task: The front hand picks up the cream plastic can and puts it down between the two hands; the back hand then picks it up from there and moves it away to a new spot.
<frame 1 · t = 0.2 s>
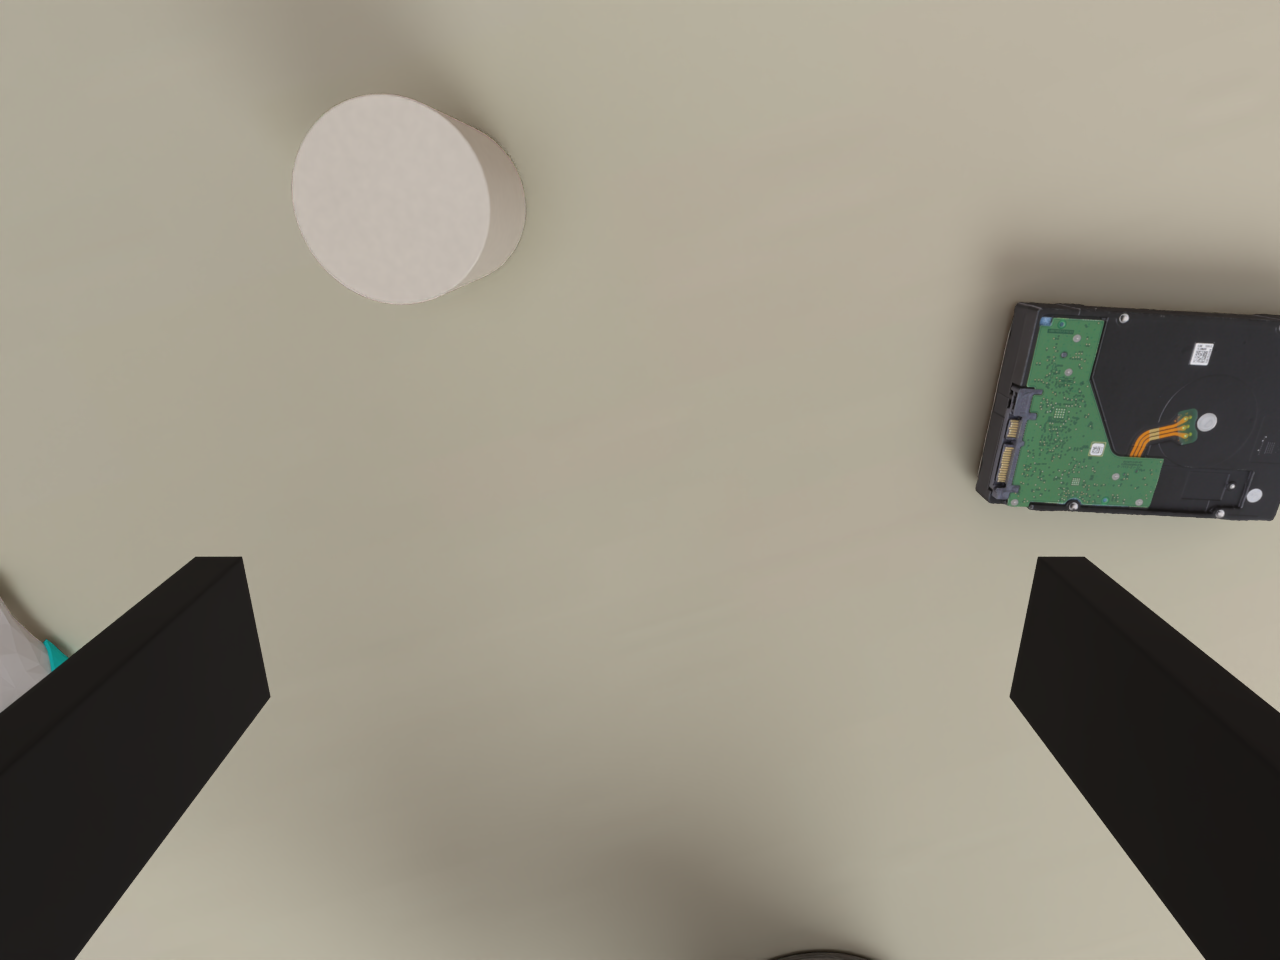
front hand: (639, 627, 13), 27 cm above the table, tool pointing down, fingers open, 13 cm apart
can: (450, 204, 36), on the table
disk drive: (1127, 405, 40), on the table
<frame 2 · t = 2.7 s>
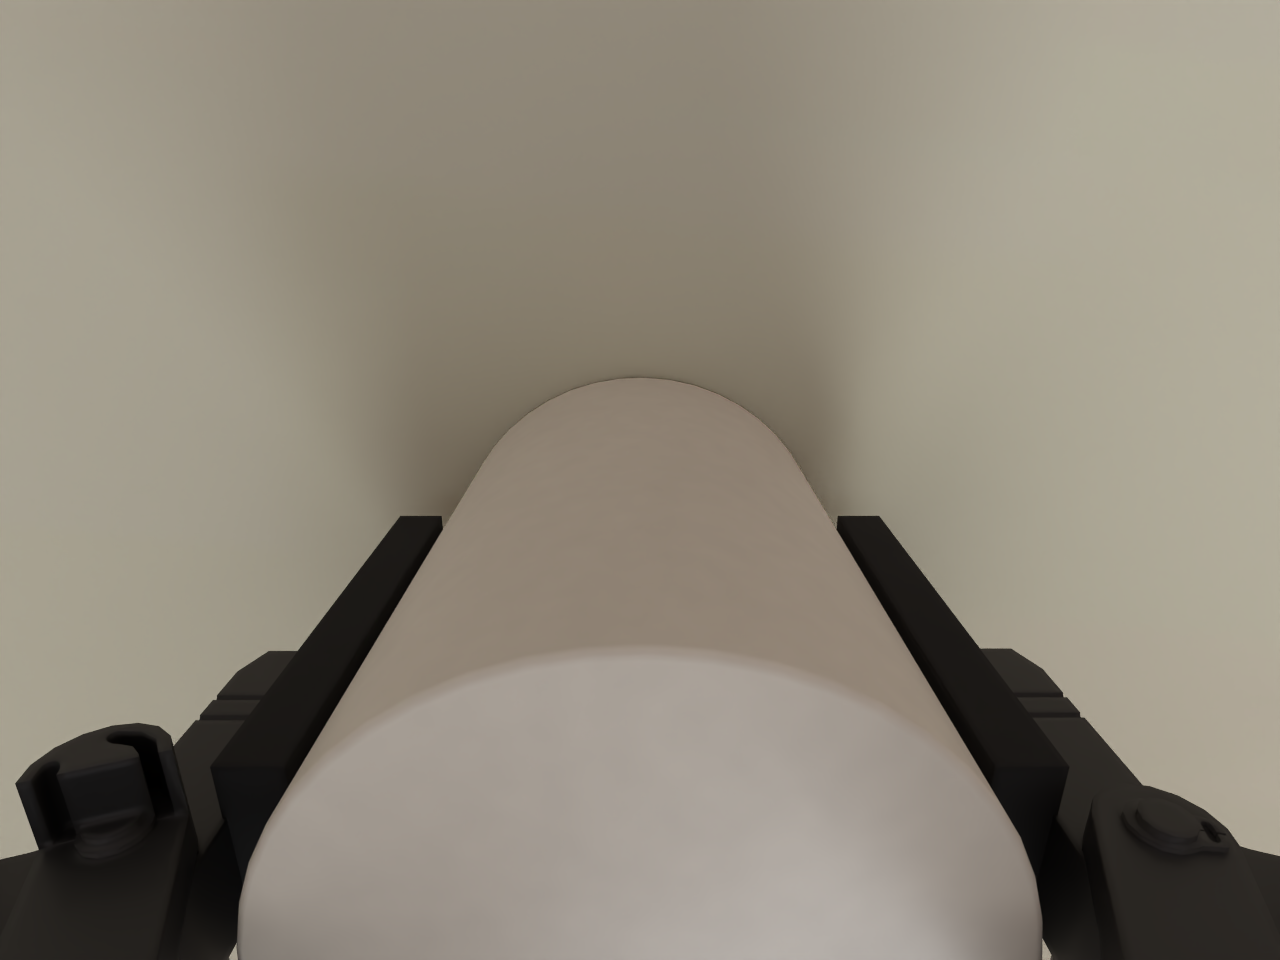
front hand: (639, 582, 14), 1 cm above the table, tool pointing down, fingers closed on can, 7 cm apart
can: (639, 550, 16), on the table, touching front hand
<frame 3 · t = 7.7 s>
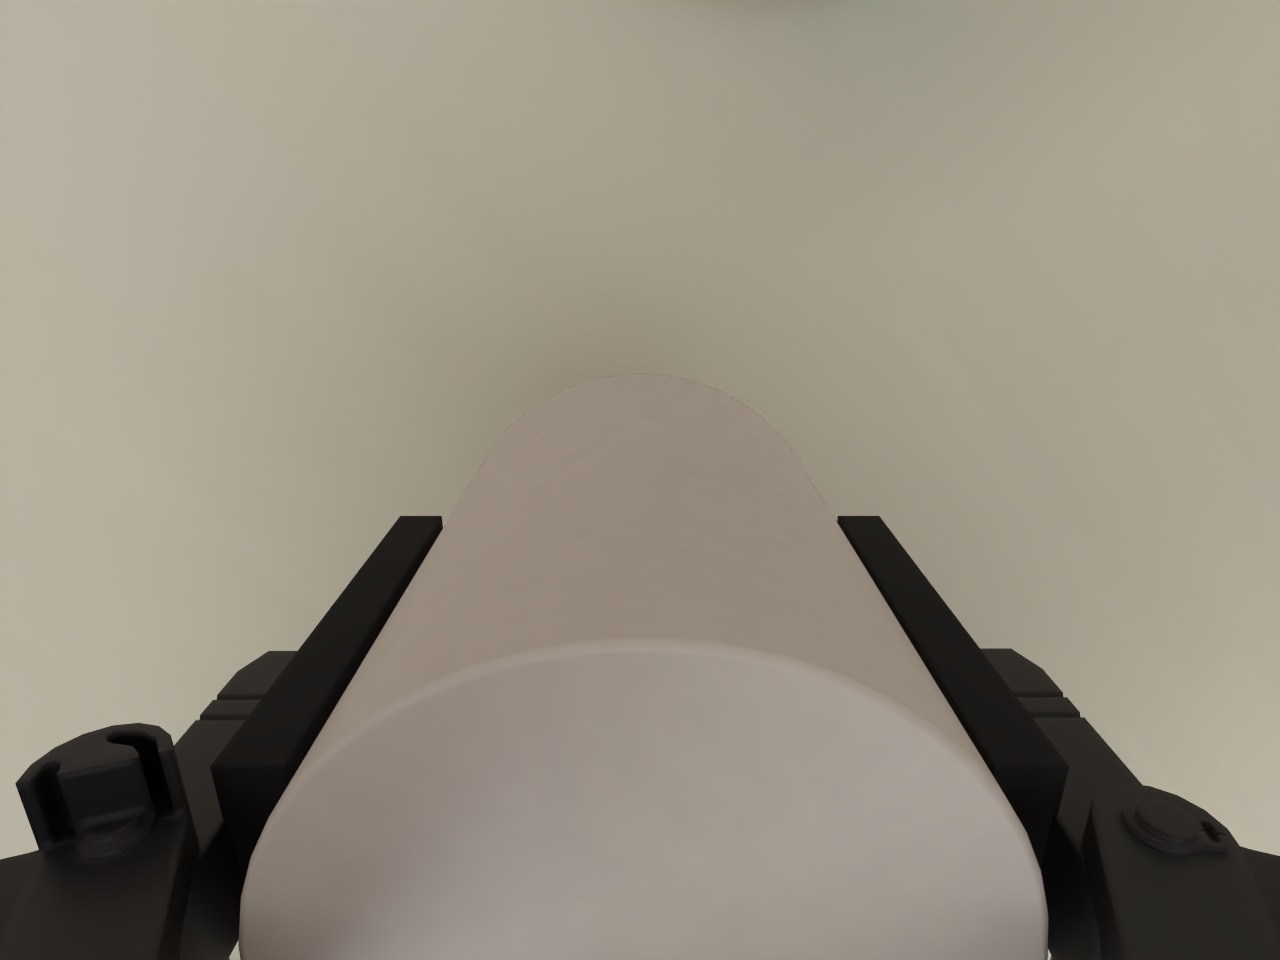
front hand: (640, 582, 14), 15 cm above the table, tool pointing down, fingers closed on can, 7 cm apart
can: (641, 547, 15), point 14 cm above the table, touching front hand
when the front hand's fingers open (3 cm above the table, at t = 12.6 s): can drops 2 cm, on the table.
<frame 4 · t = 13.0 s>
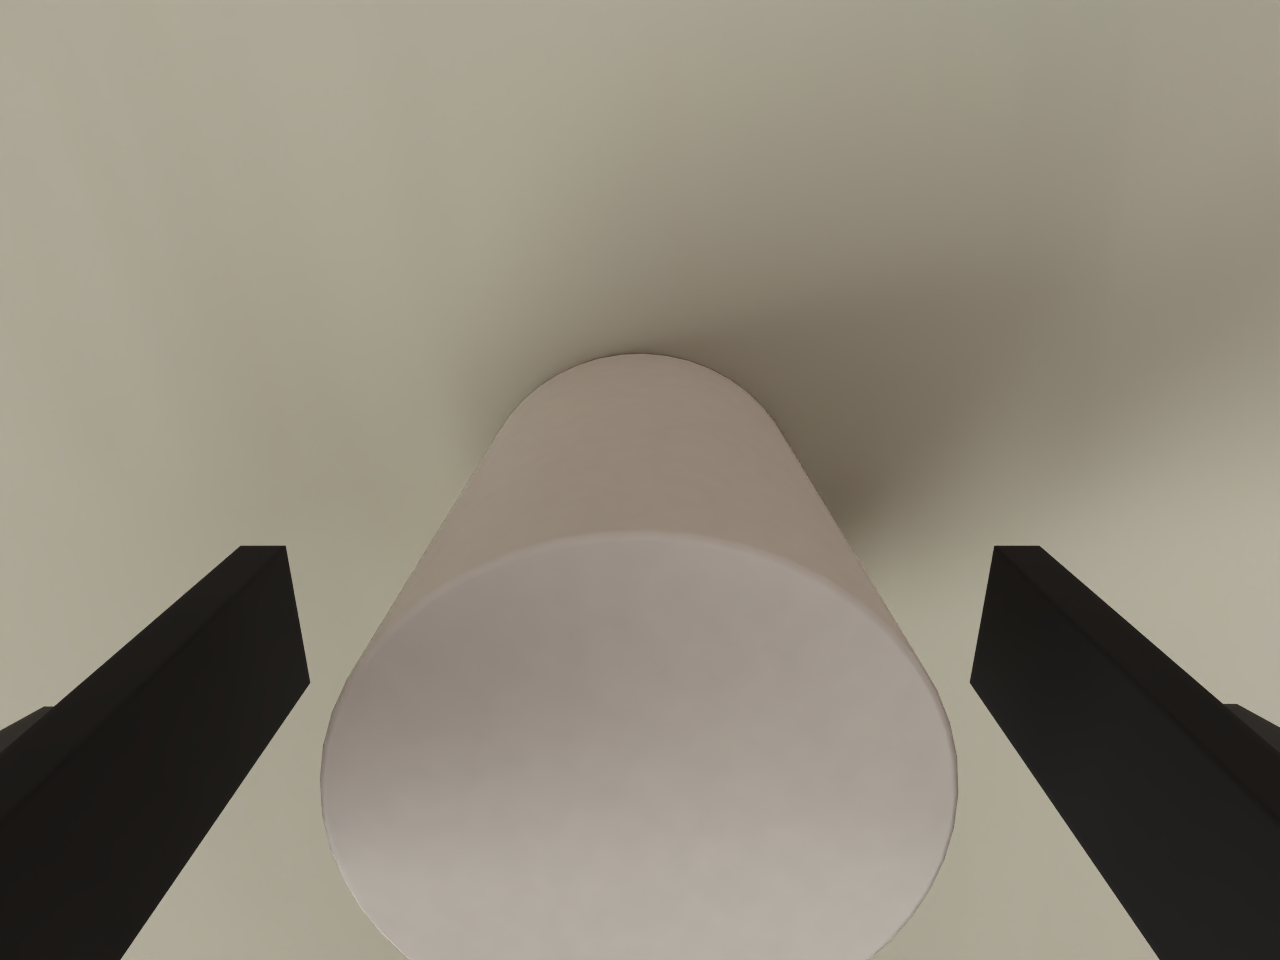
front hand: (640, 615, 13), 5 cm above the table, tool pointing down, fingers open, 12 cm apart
can: (639, 510, 17), on the table
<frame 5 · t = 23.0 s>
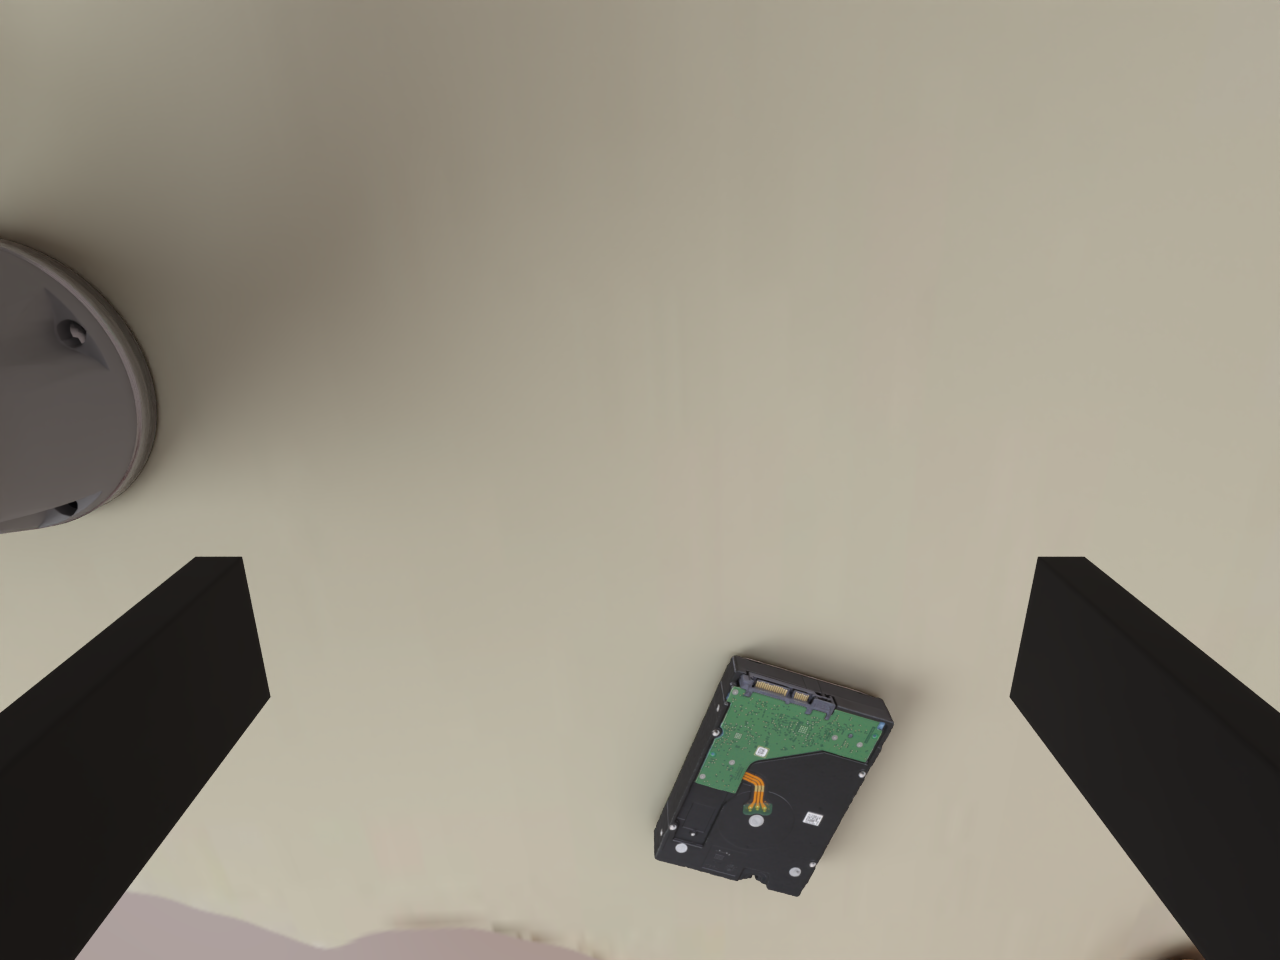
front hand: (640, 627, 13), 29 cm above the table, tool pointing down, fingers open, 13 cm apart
disk drive: (762, 762, 49), on the table
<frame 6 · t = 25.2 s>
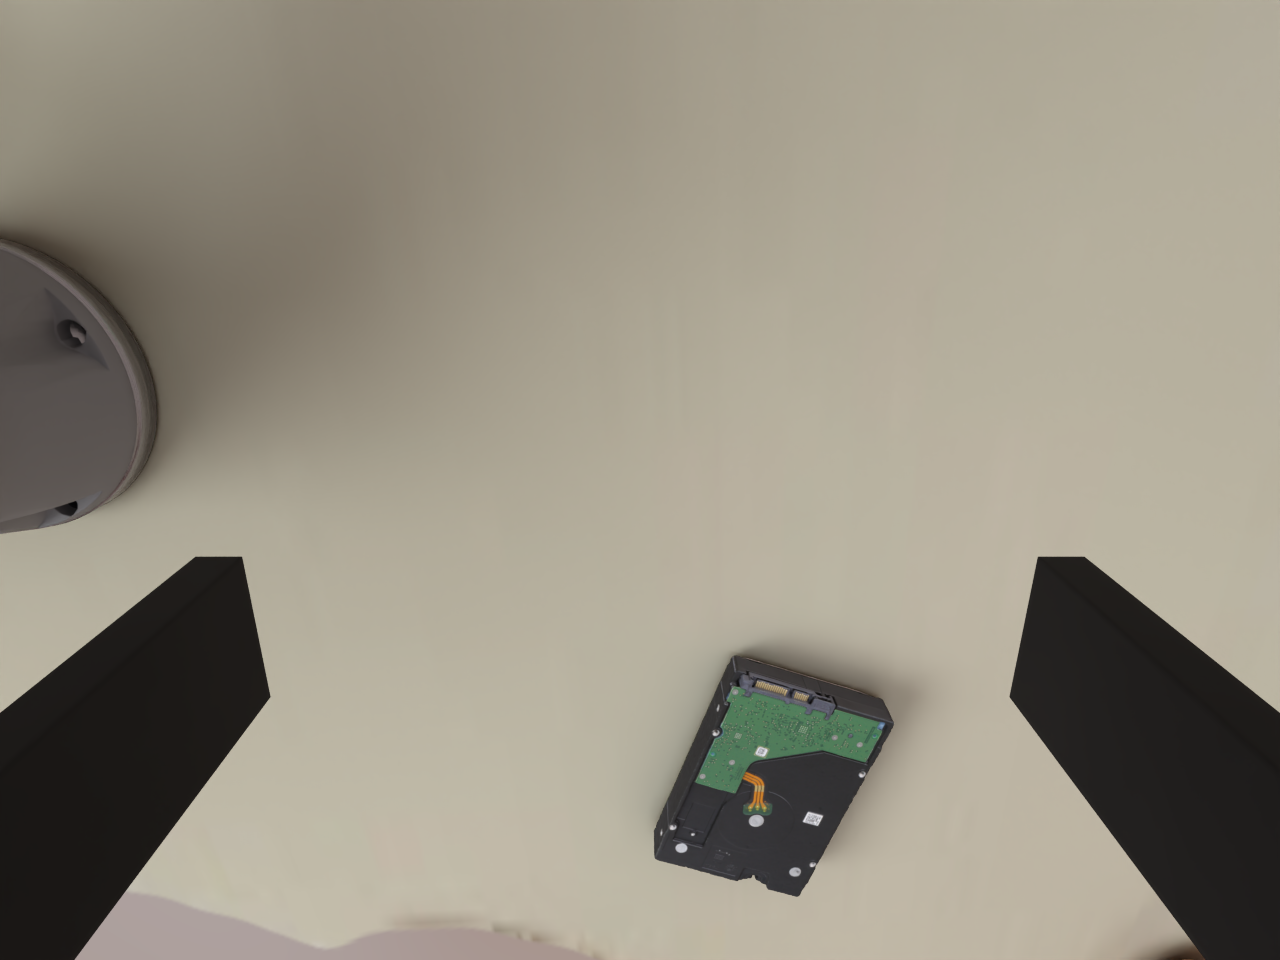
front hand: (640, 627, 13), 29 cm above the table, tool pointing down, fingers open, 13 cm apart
disk drive: (762, 762, 49), on the table
when the back hand's fingers open (3 cm above the table, at t = 27.7 s): can drops 2 cm, on the table.
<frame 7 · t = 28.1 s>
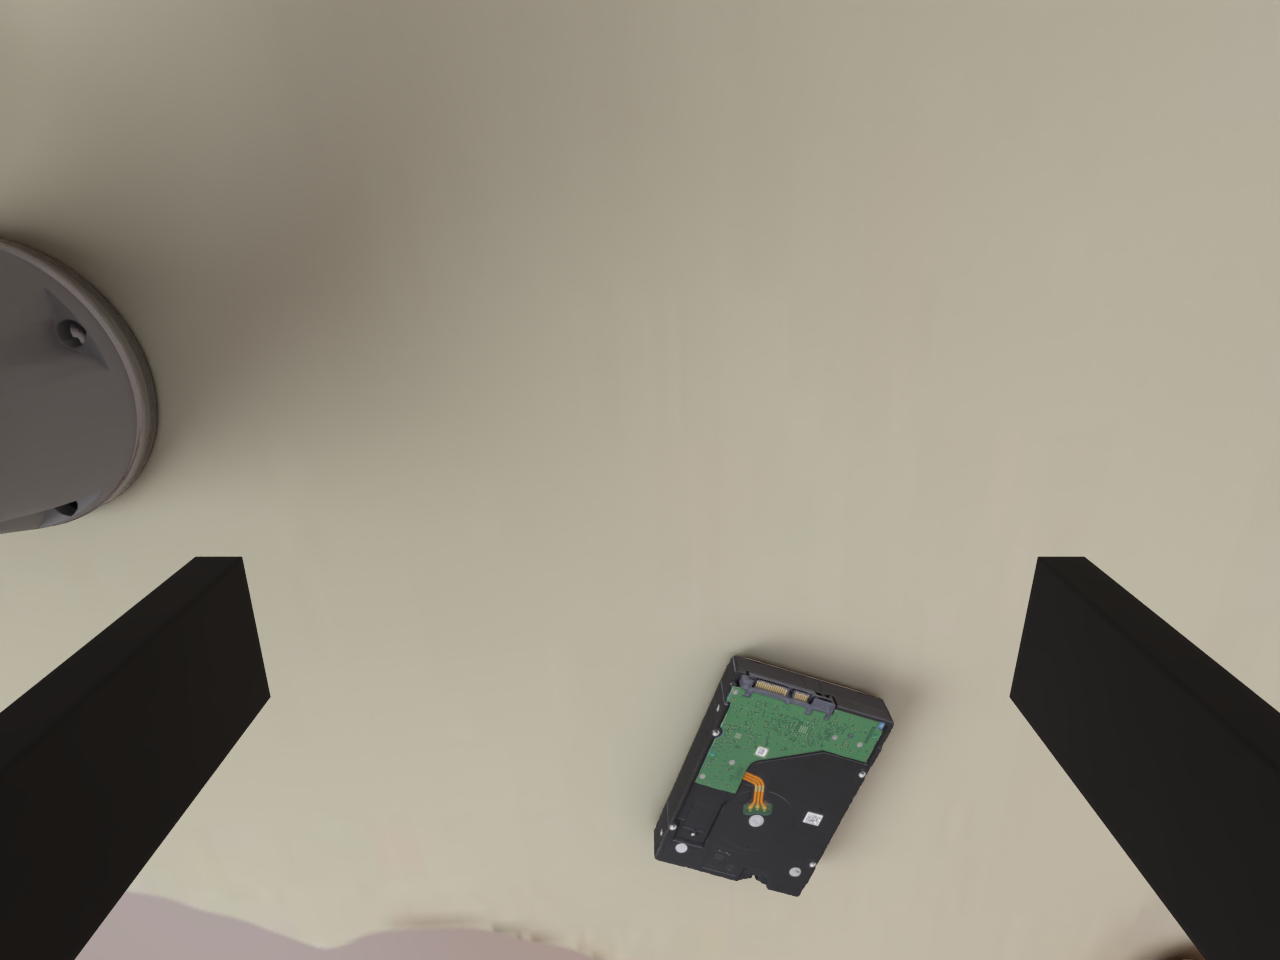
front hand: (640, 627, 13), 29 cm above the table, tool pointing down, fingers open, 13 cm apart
disk drive: (762, 762, 49), on the table
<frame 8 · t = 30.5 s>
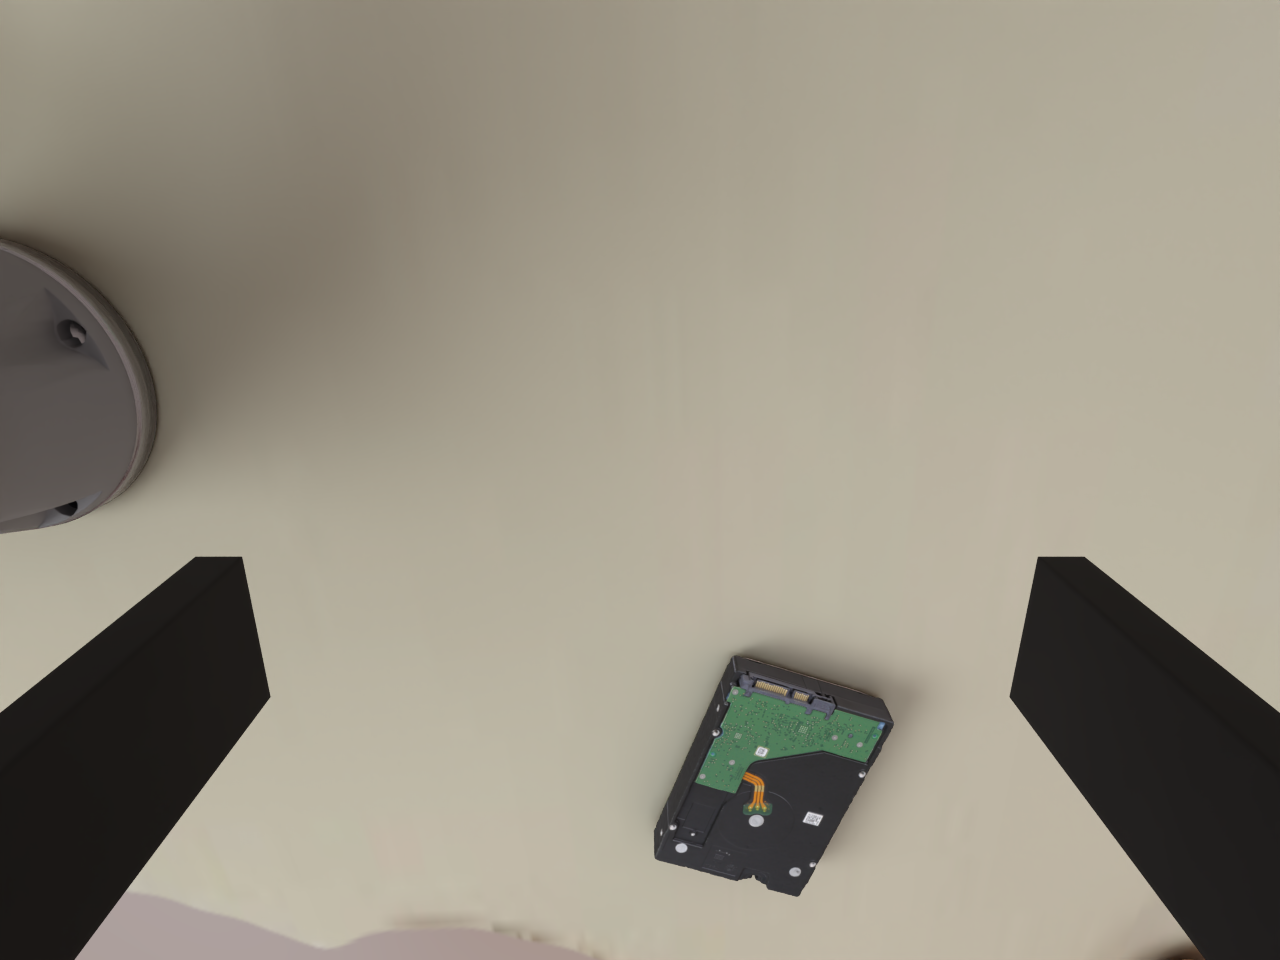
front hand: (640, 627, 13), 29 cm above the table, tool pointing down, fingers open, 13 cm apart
disk drive: (762, 762, 49), on the table
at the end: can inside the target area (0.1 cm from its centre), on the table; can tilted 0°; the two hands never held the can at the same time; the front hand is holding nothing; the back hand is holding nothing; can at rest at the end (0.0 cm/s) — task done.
